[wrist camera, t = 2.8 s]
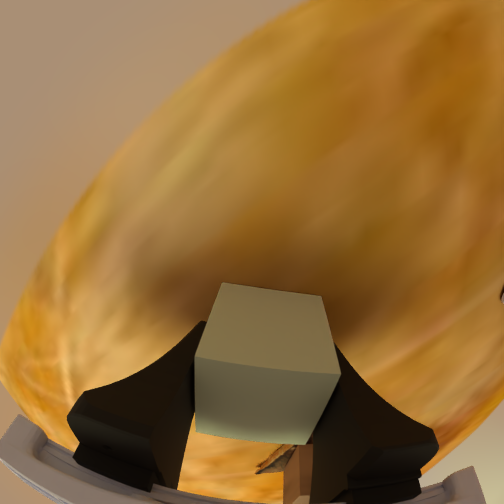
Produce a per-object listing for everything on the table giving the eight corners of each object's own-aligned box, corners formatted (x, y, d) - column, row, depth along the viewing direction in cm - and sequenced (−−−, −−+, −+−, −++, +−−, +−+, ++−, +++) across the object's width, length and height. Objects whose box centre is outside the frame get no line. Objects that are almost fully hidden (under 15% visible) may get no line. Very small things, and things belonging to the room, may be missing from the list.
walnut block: (367, 441, 15) (376, 488, 11) (343, 468, 17) (347, 507, 13) (298, 444, 15) (299, 495, 11) (283, 469, 17) (282, 511, 13)
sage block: (321, 296, 13) (341, 374, 8) (300, 367, 14) (305, 445, 9) (222, 282, 13) (194, 356, 8) (216, 356, 14) (195, 431, 10)
